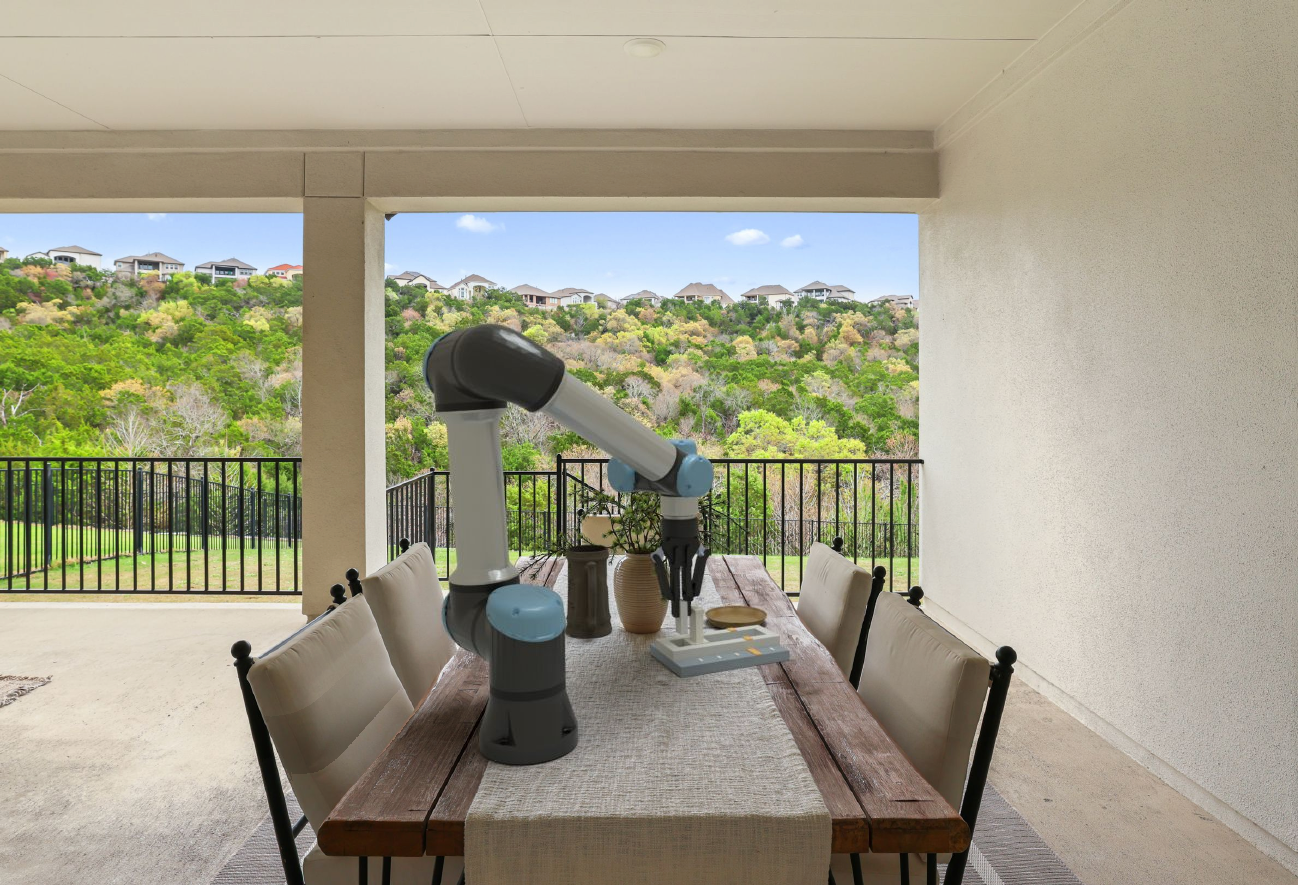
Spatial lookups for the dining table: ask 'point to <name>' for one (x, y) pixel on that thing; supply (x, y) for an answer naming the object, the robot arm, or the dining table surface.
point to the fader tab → (696, 627)
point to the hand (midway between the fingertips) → (681, 632)
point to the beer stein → (588, 592)
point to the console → (720, 651)
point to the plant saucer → (735, 616)
